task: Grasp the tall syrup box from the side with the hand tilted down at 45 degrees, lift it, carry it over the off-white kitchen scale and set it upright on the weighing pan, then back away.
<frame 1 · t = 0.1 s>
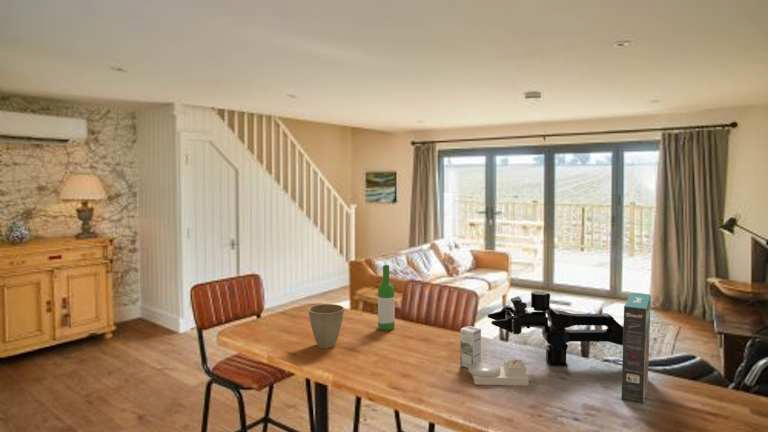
hand: (489, 319, 186), 17 cm above the table, tool horizontal, fingers open, 9 cm apart
wine bottle: (386, 328, 231), on the table
plant pot: (326, 345, 207), on the table
syrup box: (470, 366, 183), on the table
scale: (498, 378, 171), on the table
cake mix box: (635, 390, 162), on the table
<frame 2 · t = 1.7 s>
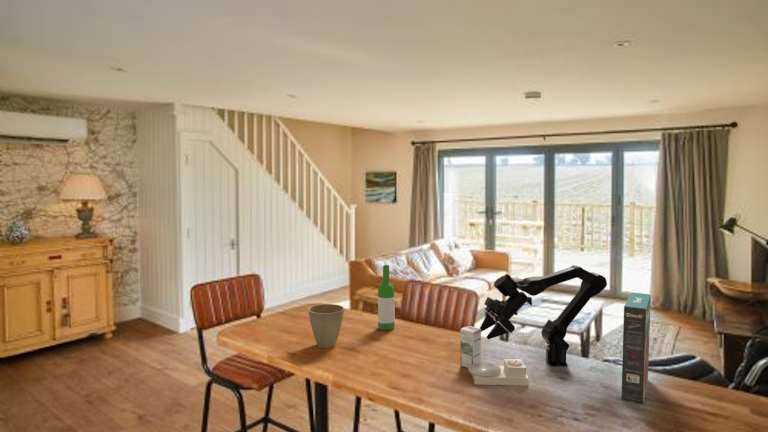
hand: (483, 334, 183), 12 cm above the table, tool tilted 45°, fingers open, 9 cm apart
nothing on the table moved.
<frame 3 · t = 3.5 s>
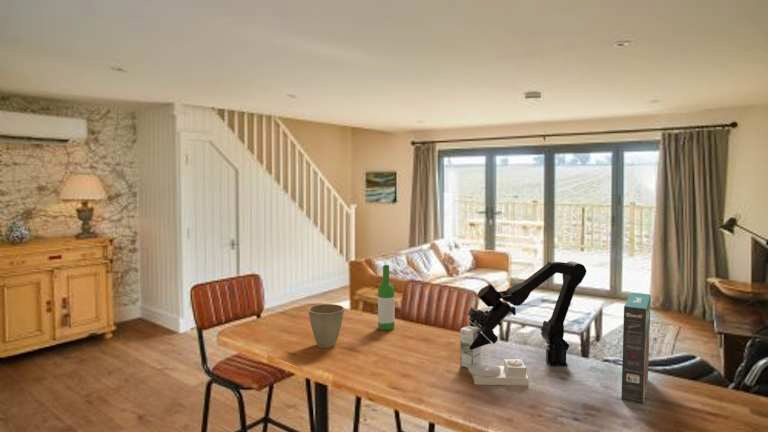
hand: (467, 345, 182), 8 cm above the table, tool tilted 45°, fingers closed on syrup box, 8 cm apart
syrup box: (470, 366, 183), on the table, touching gripper
everything else where it was.
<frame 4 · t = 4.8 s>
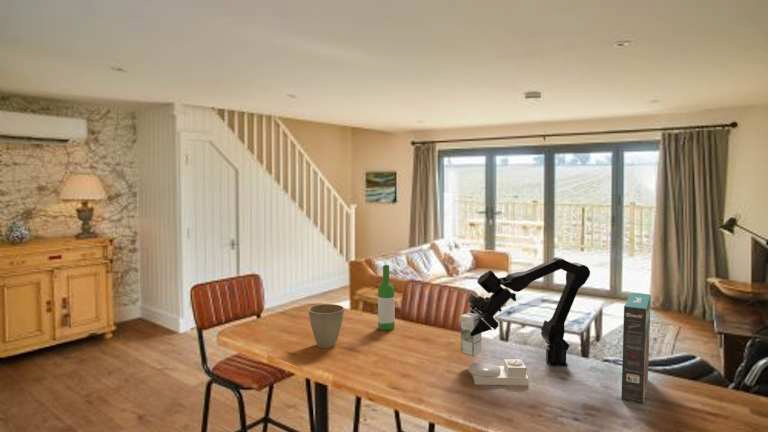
hand: (467, 332, 181), 13 cm above the table, tool tilted 45°, fingers closed on syrup box, 8 cm apart
syrup box: (471, 353, 182), point 5 cm above the table, touching gripper
everything else where it was.
when the fingers open (12 cm above the table, at t = 6.6 s): syrup box stays where it is, resting on scale.
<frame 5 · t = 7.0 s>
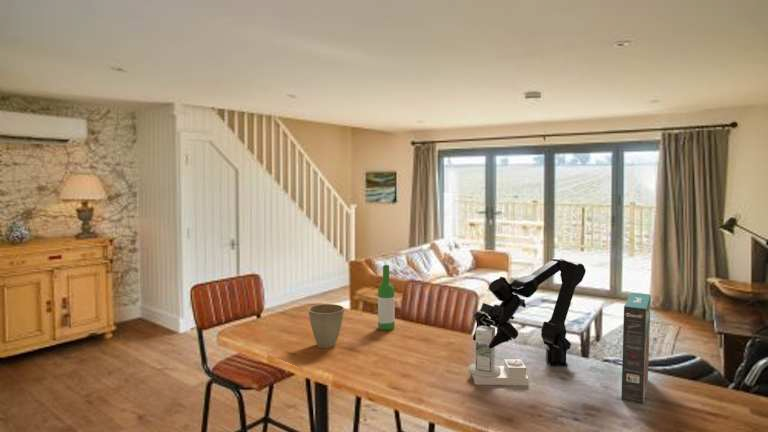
hand: (481, 343, 170), 13 cm above the table, tool tilted 45°, fingers open, 9 cm apart
syrup box: (485, 369, 171), point 3 cm above the table, touching scale
everything else where it was.
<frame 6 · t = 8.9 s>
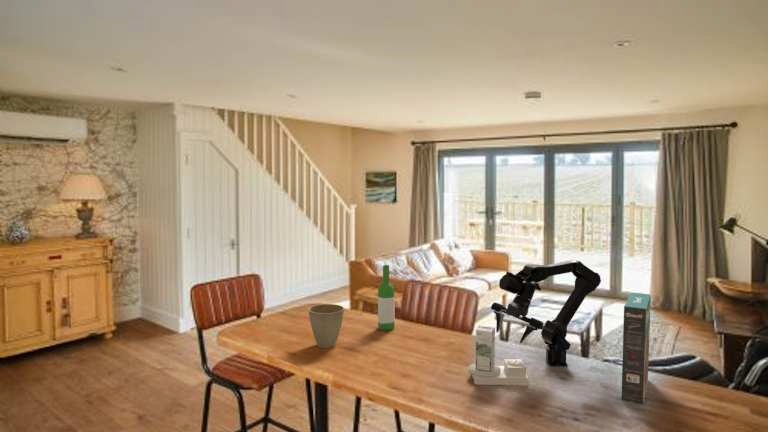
hand: (508, 337, 179), 12 cm above the table, tool tilted 25°, fingers open, 9 cm apart
nothing on the table moved.
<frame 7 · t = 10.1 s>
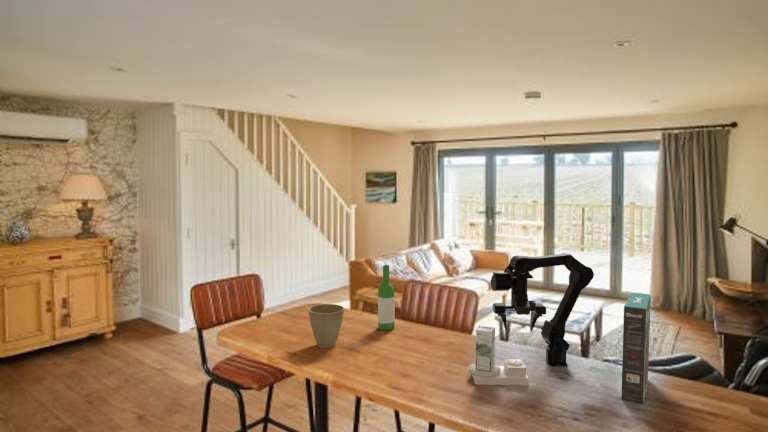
hand: (518, 331, 183), 13 cm above the table, tool pointing down, fingers open, 9 cm apart
nothing on the table moved.
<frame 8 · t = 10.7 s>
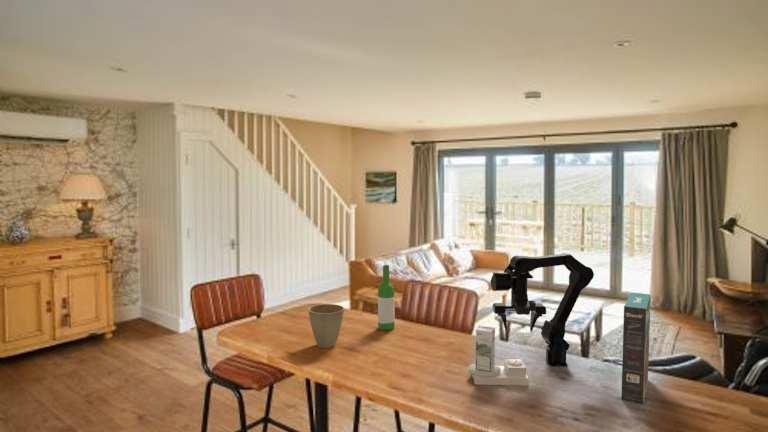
hand: (518, 331, 183), 13 cm above the table, tool pointing down, fingers open, 9 cm apart
nothing on the table moved.
at the end: syrup box inside the target area (0.2 cm from its centre), point 3.3 cm above the table; syrup box tilted 0°; the gripper is holding nothing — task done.
